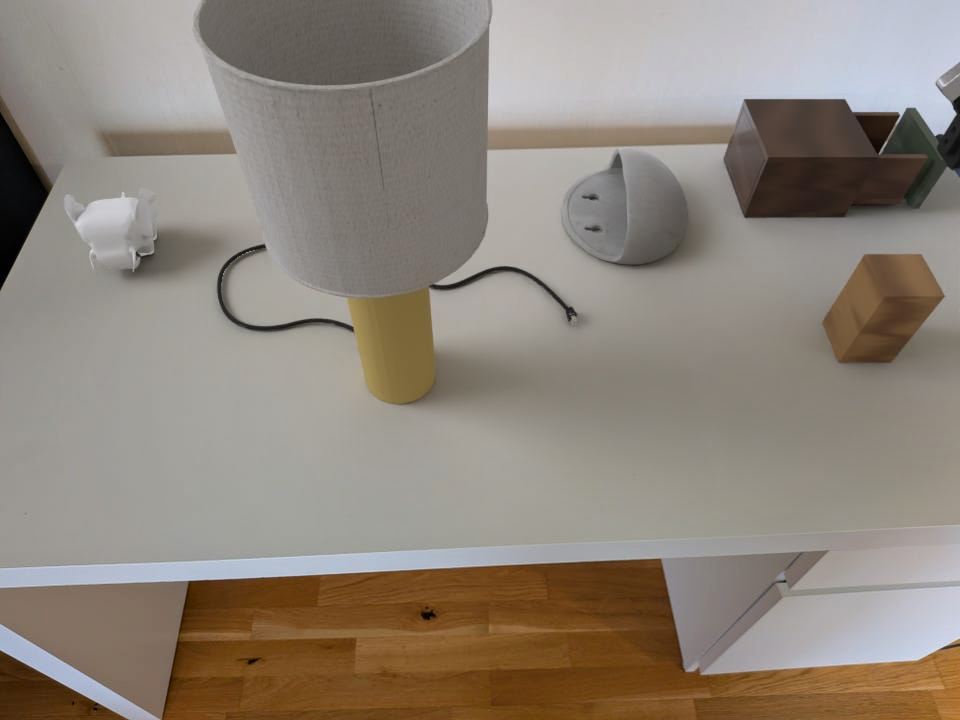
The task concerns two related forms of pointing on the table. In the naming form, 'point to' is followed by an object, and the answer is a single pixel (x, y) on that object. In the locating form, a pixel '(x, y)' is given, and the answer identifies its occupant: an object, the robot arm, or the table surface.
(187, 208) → the table surface
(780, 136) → the cabinet
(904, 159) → the drawer
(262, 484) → the table surface
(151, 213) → the elephant figurine
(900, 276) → the stand
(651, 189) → the planter
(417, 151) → the table lamp
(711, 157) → the table surface
